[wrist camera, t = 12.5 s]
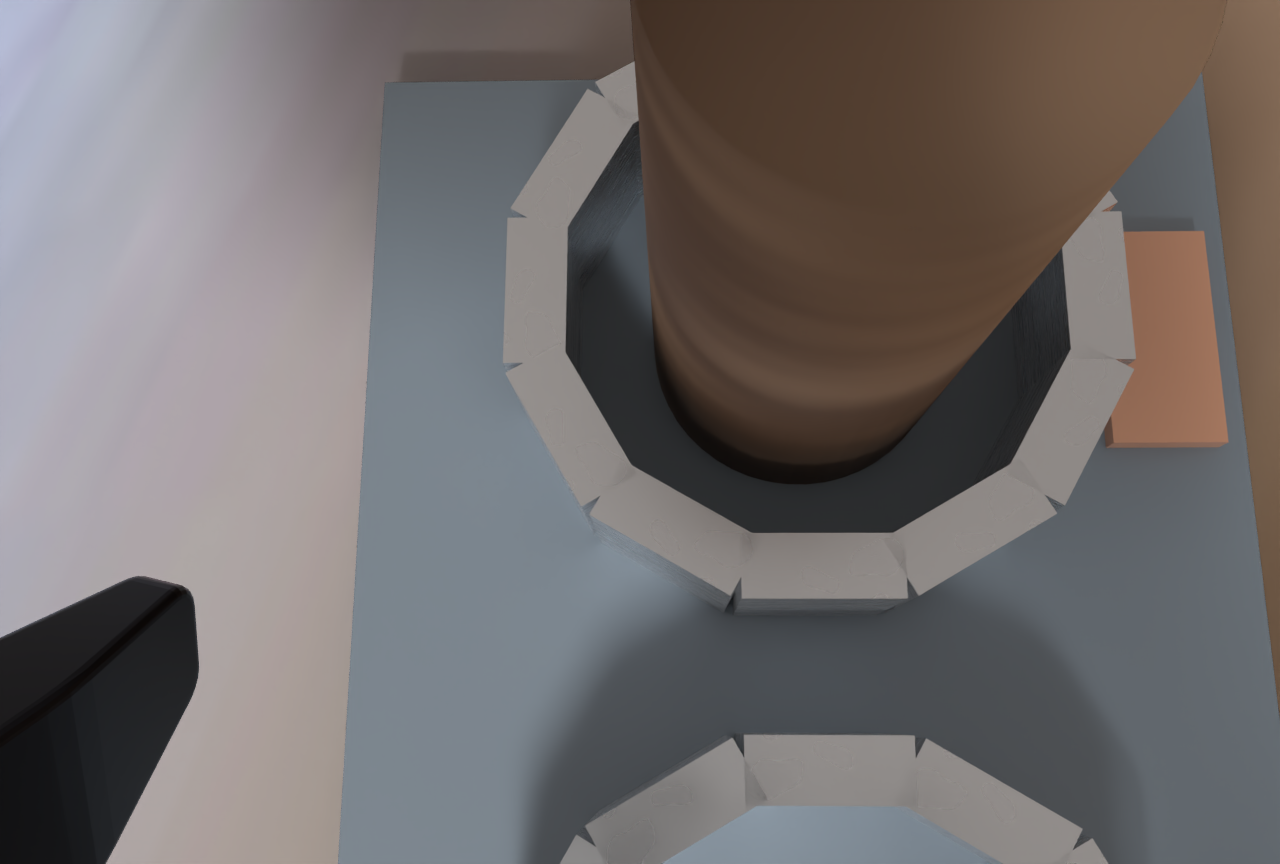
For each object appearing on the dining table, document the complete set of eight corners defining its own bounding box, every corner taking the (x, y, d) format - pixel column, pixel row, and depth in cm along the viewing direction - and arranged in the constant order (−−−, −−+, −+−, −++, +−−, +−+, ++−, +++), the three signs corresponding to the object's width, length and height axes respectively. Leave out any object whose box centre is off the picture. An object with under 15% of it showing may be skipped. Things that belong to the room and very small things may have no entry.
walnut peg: (993, 386, 22) (1358, 9, 10) (756, 539, 21) (851, 332, 10) (830, 167, 23) (989, -403, 11) (601, 308, 22) (515, -133, 11)
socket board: (1332, 1424, 19) (1506, 1610, 15) (322, 1402, 19) (232, 1575, 15) (1181, 96, 24) (1277, -23, 20) (396, 107, 25) (343, -8, 21)
